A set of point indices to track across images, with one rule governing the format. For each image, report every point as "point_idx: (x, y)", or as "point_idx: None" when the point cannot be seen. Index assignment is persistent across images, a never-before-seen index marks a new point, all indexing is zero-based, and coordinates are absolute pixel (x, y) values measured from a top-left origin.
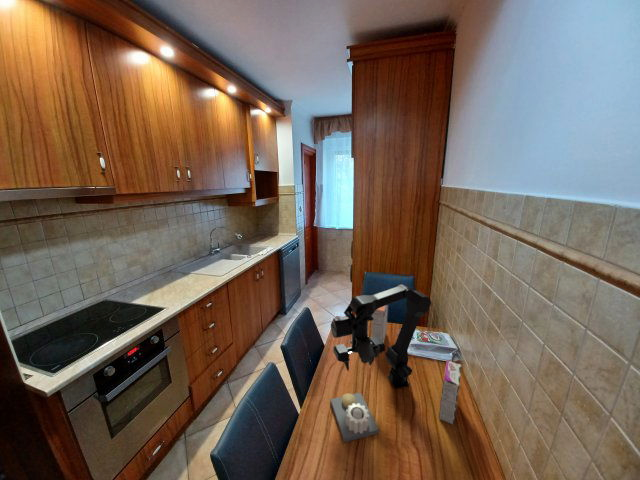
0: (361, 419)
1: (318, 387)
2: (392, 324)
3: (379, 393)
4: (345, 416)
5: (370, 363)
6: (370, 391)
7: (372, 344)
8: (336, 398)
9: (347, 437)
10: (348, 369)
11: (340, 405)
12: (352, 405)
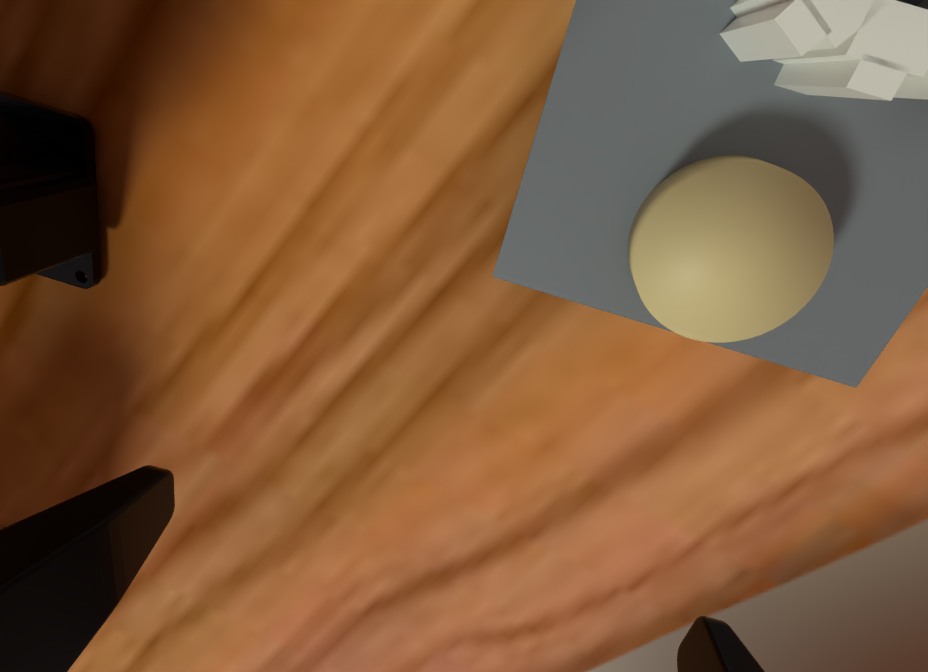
0: None
1: (790, 546)
2: None
3: (291, 173)
4: None
5: (119, 508)
6: (365, 246)
7: None
8: (793, 359)
9: None
10: (734, 662)
11: (835, 261)
12: (922, 62)
